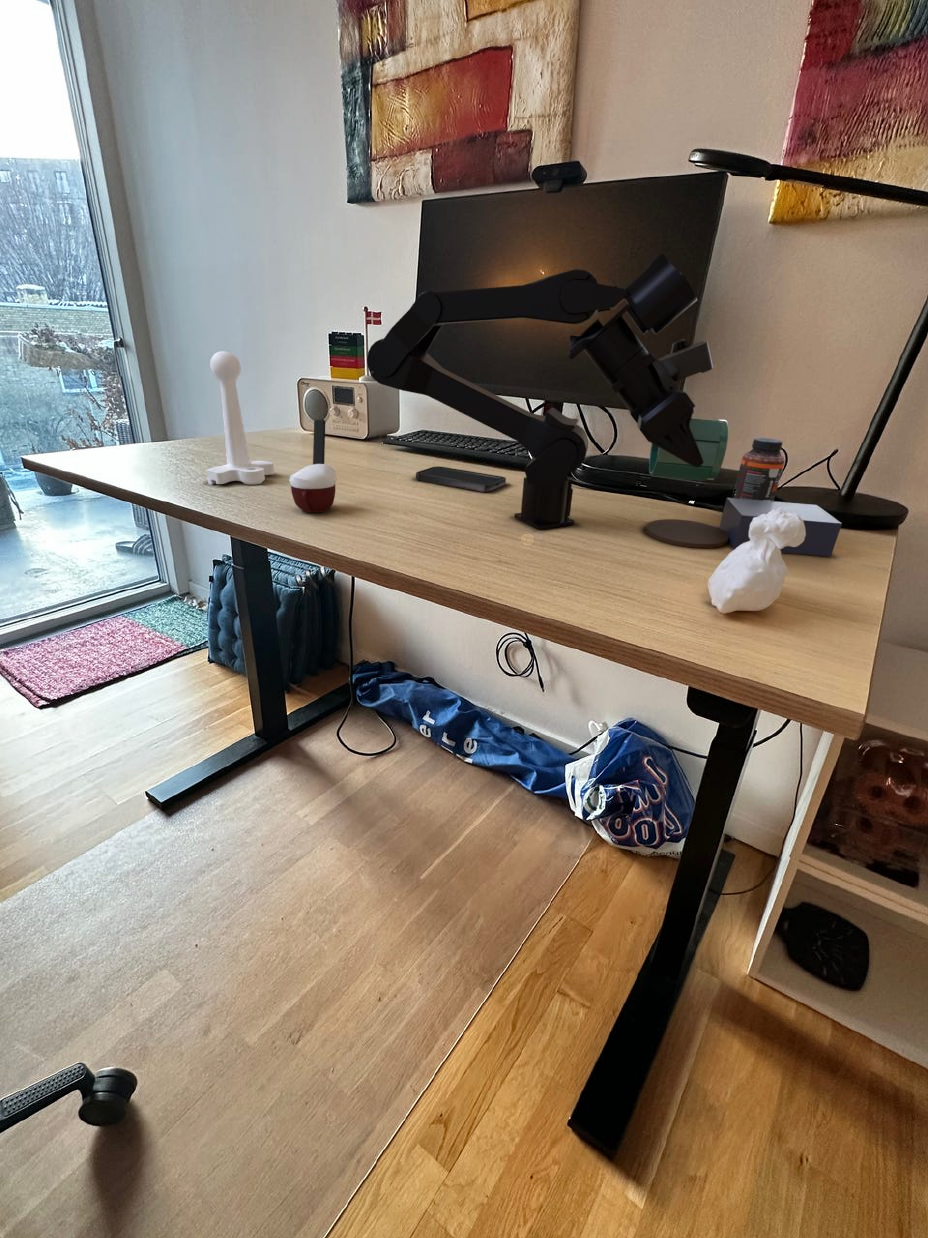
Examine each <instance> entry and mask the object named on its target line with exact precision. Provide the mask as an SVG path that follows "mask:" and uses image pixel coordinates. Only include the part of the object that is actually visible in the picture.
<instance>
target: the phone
mask: <svg viewBox="0 0 928 1238" xmlns="http://www.w3.org/2000/svg"><path fill="white" fill-rule="evenodd" d="M415 480H416V481H421V482H427V483H433V484H437V485H443V486H448V487H454V488H461V489H466V490H471V491H477V492H483V493H489V492H492V491H494V490H497V489H500V488H501V487H504V486H505V485H506V483H507V477H506V476H500V475H494V474H488V473H483V472H476V471H472V470H471V471H470V470H465V469H459V468H452V467H448V466H447V467H445V466H441V465H440V466H439V465H438V466H432V467H429V468H425V469H422V470H419V471H416V472H415Z"/></svg>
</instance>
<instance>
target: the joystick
mask: <svg viewBox="0 0 928 1238" xmlns="http://www.w3.org/2000/svg"><path fill="white" fill-rule="evenodd" d="M209 368H210V370H211V372H212V374H213V375H214V376H215V377H216V379H217V381H218V382H219V387H220V396H221V408H222V419H223V421H222V422H223V431H224V442H225V443H224V444H225V454H226V464H224V465H217V466H215V467H210V468H207V469H206V470H205V471H206V478H207V483H208V485H211V486H212V485H214V484H217V485H223V484H228V483H229V482H235V481H236V482H237V481H238V482H242V483H243V484H244V485H251V486H252V485H260V484H262V483H263V482H264V481H265V480H266V476H268V475H269V476H270V475H275V474H276V473H275V464H274V462H271V461H267V460H250V456H249V455H250V454H249V450H248V445H247V439H246V434H245V428H244V423H243V416H242V412H241V406H240V401H239V395H238V390H237V380H238V378H239V376H240V375H241V369H242V367H241V363H240V360H239V359H238V357H237V356H236V355H234V354H233V353H232V352H229V351H226V350H219V351H217V352H215V353H214V354H213V355H212V357H211V358H210V363H209Z"/></svg>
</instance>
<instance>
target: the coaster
mask: <svg viewBox="0 0 928 1238" xmlns="http://www.w3.org/2000/svg"><path fill="white" fill-rule="evenodd" d="M645 532H646V534H647V535H648V536H649V537H651V538H653V539H655V540H658V541H659V542H663V543H666V544H668V545H669V544H670V545H674V546H679V547H685V548H691V549H693V548H694V549H713V548H720V547H723V546H726V545H727V544H728V543H729V541H728V540H729V536H728V534H727V533H726V532H725V531H723V530H721V529H720V528H718V527H717V526H714V525H711V524H708V523H704V522H701V521H700V522H699V521H694V520H688V519H677V518H666V519H665V518H664V519H656V520H652V521H649V522H648V523H646V525H645Z"/></svg>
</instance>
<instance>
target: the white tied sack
mask: <svg viewBox="0 0 928 1238" xmlns="http://www.w3.org/2000/svg"><path fill="white" fill-rule="evenodd" d="M748 536H749V538H750V541H749V542H745V543H743V544H741V545H740V546H738V547H737V548H734V549H733V550H732V551H730V552H729V553H728V554H727V556H726V557H725V558H724V559H723V560H722V561H721V562H720V564H718V566H717V567H716V569H714V572H713V574H712V575H711V576H710V578H709V579H708V581H707V588H708V593H709V596H710V600H711V605H712V606H714V607H716V609H717V610H718V612H719V613H721V614H730V613H732V612H736V611H741V612H745V611H747V612H761V611H762V610H765V609H766V608H768V607H769V606H771V605H772V604H773V603H774V602H775V601H776V600H777V599H778V598H779V597H780V595H781V593H782V590H783V588H784V581H785V579H786V577H787V576H788V567H787V565H786V563H785V561H784V559H783V556H782V553H781V551H780V549H782V548H784V547H785V546H791V547H796V546H798V545H800V544H801V543H802V542H803V541H804V539H805V536H806V531H805V525H804V522H803V520H802V518H801V517H800V516H799V514H790V513H786V511H785V510H782V509H781V508H778V509H777V510H772V511H770V512H769V513H768V514H767V515H766V514H761V515H760V516H758V517H754V518H753V520H752V522H751V523H750V529H749V535H748Z"/></svg>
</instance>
